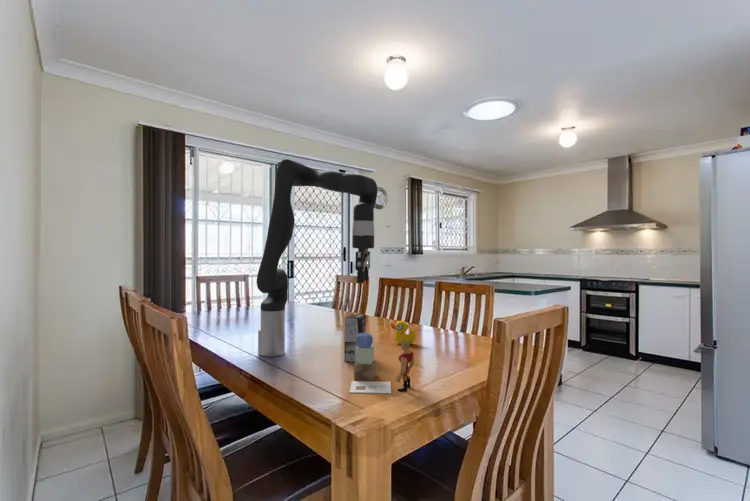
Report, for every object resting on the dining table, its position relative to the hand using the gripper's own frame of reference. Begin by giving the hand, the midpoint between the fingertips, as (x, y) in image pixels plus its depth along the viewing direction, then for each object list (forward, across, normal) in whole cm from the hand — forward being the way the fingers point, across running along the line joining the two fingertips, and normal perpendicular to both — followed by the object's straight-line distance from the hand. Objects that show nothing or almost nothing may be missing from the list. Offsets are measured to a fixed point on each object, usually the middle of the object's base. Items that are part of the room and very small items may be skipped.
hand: (362, 281), depth 133 cm
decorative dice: (+20, +8, +2) cm, 22 cm away
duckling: (+30, -38, +11) cm, 50 cm away
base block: (+30, +8, +2) cm, 31 cm away
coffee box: (+30, -12, -5) cm, 33 cm away
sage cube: (+25, +8, +2) cm, 27 cm away
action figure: (+30, +16, +16) cm, 38 cm away
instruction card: (+30, +17, +6) cm, 35 cm away
